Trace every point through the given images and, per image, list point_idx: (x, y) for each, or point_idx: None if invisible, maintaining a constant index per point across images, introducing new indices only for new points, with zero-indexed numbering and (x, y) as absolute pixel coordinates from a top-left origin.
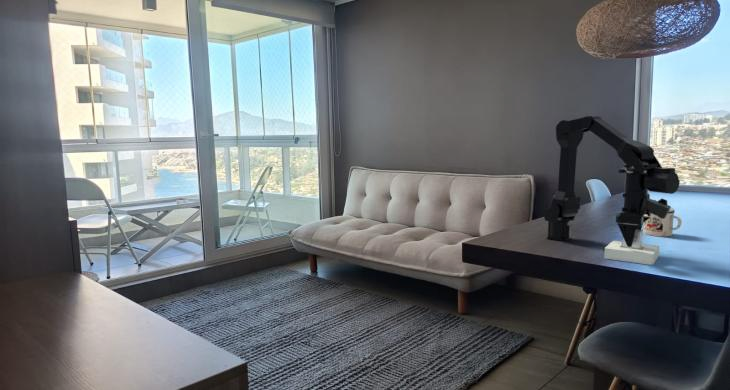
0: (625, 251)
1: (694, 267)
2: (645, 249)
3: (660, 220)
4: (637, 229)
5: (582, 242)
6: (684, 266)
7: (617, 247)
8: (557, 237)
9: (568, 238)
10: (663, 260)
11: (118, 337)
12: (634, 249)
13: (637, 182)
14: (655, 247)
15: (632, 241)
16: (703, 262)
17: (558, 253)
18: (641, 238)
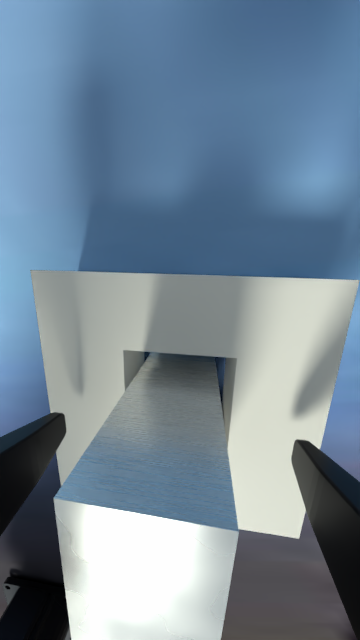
0: (317, 441)
1: (243, 41)
2: (208, 342)
3: None
4: (69, 553)
5: (47, 543)
6: (248, 107)
7: (244, 484)
8: (66, 623)
9: (47, 592)
10: (164, 238)
11: None
12: (250, 402)
13: None
14: (105, 289)
15: (357, 483)
16: (73, 8)
17: (280, 605)
18: (152, 417)
